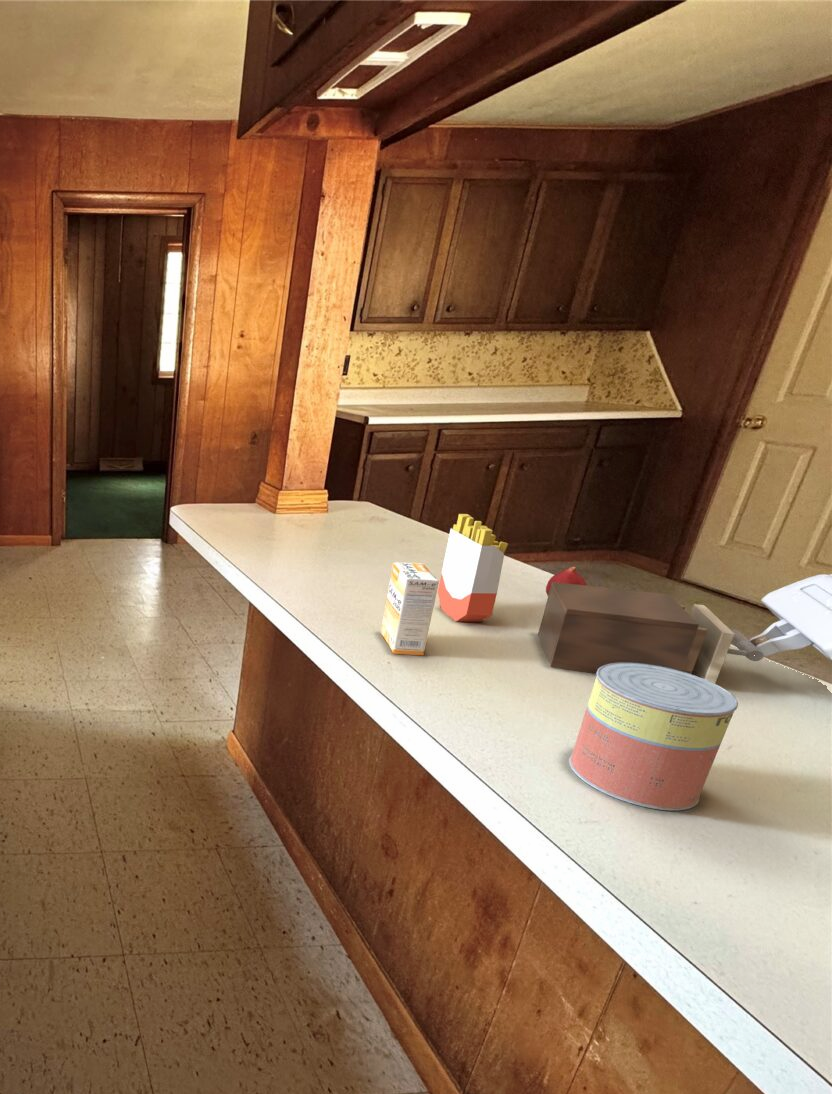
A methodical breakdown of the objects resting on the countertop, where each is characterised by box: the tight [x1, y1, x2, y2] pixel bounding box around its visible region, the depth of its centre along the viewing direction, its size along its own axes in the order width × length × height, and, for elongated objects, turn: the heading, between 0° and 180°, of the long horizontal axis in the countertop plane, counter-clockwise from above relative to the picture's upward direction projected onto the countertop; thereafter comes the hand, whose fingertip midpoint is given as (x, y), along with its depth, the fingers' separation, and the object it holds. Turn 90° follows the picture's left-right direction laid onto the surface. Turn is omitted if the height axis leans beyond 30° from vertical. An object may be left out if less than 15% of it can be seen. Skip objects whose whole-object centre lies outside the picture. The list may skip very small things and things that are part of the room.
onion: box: [545, 566, 588, 597], centre depth 120 cm, size 6×6×8 cm
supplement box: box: [380, 561, 440, 656], centre depth 107 cm, size 8×5×13 cm, turn 167°
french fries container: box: [437, 513, 509, 623], centre depth 116 cm, size 5×11×18 cm, turn 174°
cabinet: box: [537, 582, 699, 675], centre depth 101 cm, size 15×13×10 cm
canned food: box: [568, 663, 739, 811], centre depth 73 cm, size 11×11×12 cm
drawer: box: [679, 603, 765, 684], centre depth 98 cm, size 18×11×8 cm, turn 62°
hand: (755, 648), depth 94 cm, fingers closed, pressing on drawer
